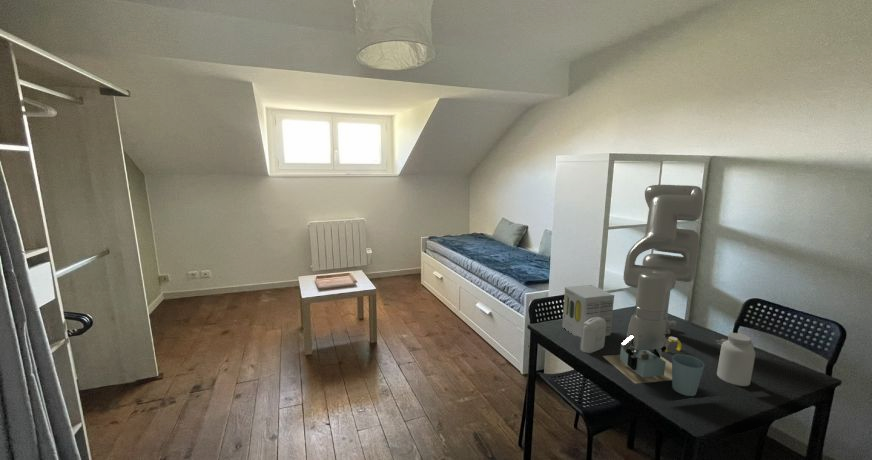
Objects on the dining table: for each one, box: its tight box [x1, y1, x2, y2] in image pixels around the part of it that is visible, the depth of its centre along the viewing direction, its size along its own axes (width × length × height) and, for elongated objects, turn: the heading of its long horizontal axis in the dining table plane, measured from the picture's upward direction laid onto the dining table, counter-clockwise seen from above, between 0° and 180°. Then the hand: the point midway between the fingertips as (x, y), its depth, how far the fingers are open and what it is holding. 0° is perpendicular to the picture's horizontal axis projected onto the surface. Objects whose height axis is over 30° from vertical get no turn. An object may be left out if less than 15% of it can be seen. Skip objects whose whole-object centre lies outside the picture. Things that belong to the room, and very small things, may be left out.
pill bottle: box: [716, 332, 756, 387], centre depth 109 cm, size 8×8×15 cm
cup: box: [671, 353, 705, 400], centre depth 103 cm, size 8×8×10 cm
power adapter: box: [711, 338, 755, 349], centre depth 127 cm, size 11×5×6 cm, turn 63°
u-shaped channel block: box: [619, 346, 666, 378], centre depth 112 cm, size 10×7×4 cm
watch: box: [664, 336, 682, 353], centre depth 126 cm, size 6×3×6 cm, turn 98°
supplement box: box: [562, 284, 615, 338], centre depth 141 cm, size 13×13×18 cm
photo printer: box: [579, 317, 606, 354], centre depth 127 cm, size 10×4×12 cm, turn 123°
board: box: [602, 352, 672, 385], centre depth 116 cm, size 20×16×8 cm
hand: (643, 366), depth 112 cm, fingers closed on u-shaped channel block, 7 cm apart
